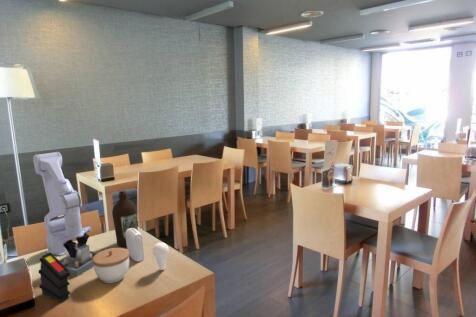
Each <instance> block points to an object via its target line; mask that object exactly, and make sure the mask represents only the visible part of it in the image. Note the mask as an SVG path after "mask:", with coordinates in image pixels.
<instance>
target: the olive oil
mask: <svg viewBox="0 0 476 317" xmlns="http://www.w3.org/2000/svg"><path fill="white" fill-rule="evenodd" d="M118 197H119V198H118V200H117V202H116V203H115V204H114V206H113V207H112V209H111V210H112V213H111V215H112V220H113V227H114V232H115V238H116V246H118V247H119V248H127V244H126V235H125V232H126V230H127V229H130V228H134V229H136V230H137V231H139V230H138V228H139V226H138V209H137V207H136V204H135V203H134V202H133V201H131V200H130V199H129V198H128V193H127V190H126V189H121V190H119V191H118Z"/></svg>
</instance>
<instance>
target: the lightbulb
mask: <svg viewBox="0 0 476 317" xmlns="http://www.w3.org/2000/svg"><path fill="white" fill-rule="evenodd" d="M169 252H170V249H169V246H168V244H166V243H165V242H157V243H156V244H155V245H154V246H153V247H152V255H153V257H154V258H155V260H156V262H157V266H158V270H160V271H163V270H165V269H166V263H167V257H168V255H169Z"/></svg>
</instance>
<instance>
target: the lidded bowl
mask: <svg viewBox="0 0 476 317" xmlns="http://www.w3.org/2000/svg"><path fill="white" fill-rule="evenodd" d="M93 265H94V267H93V270H94V272H95V274H96V276H97V278H98V279H100V281H103V282H104V283H105V284H113V283H117V282H120V281H121V280H123V278H124V276H126V274H127V272H128V270H129V268H130V256H129V251H128V250H127V248H125V247H112V248H107V249H104V250H102V251H98V252H97V254H96V255H95V256H94V257H93Z"/></svg>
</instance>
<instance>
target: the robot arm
mask: <svg viewBox="0 0 476 317" xmlns="http://www.w3.org/2000/svg"><path fill="white" fill-rule="evenodd" d="M32 159H33V160H32V162H33V166H34V171H35V174H37V175H40V176H41V179H42V181H43V187H44V191H45V195H46V201H47V205H48V208H49V210H48V211H49V212H48V213H47V214H45V216H44V219H43V220H44V223H43V224H44V229H45V230H44V231H46V233H47V234H46V235H45V236H46V237H45V239H46V246H47V250H46V251H45V253H46V254H48V253H52V254H53V255H57V256H63V255H66V254H65V248H66V249H67V251H68V253H69V255H70V257H71V258H75V256H76V254H75V245H76V243H80V244H85V245H87V242H88V240H89V237H90V235H89V234H88V233H91V232H92V226H85V227H83V226H82V219H81V218H82V217H81V210H80V207H81V205H82V199H81V196H80V193H79V192H78V191H77V190H76V189H75V190H74V187H73V186H72V184H71V182H70V180H69V179H68V178H65V176H64V174H63V170H62V165H63V157H62V154H61V152H59V151H56V152H55V151H54V152H48V153H41V154H40V153H39V154H34V155H33V157H32ZM75 239H76V242H75V241H73V240H75Z"/></svg>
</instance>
